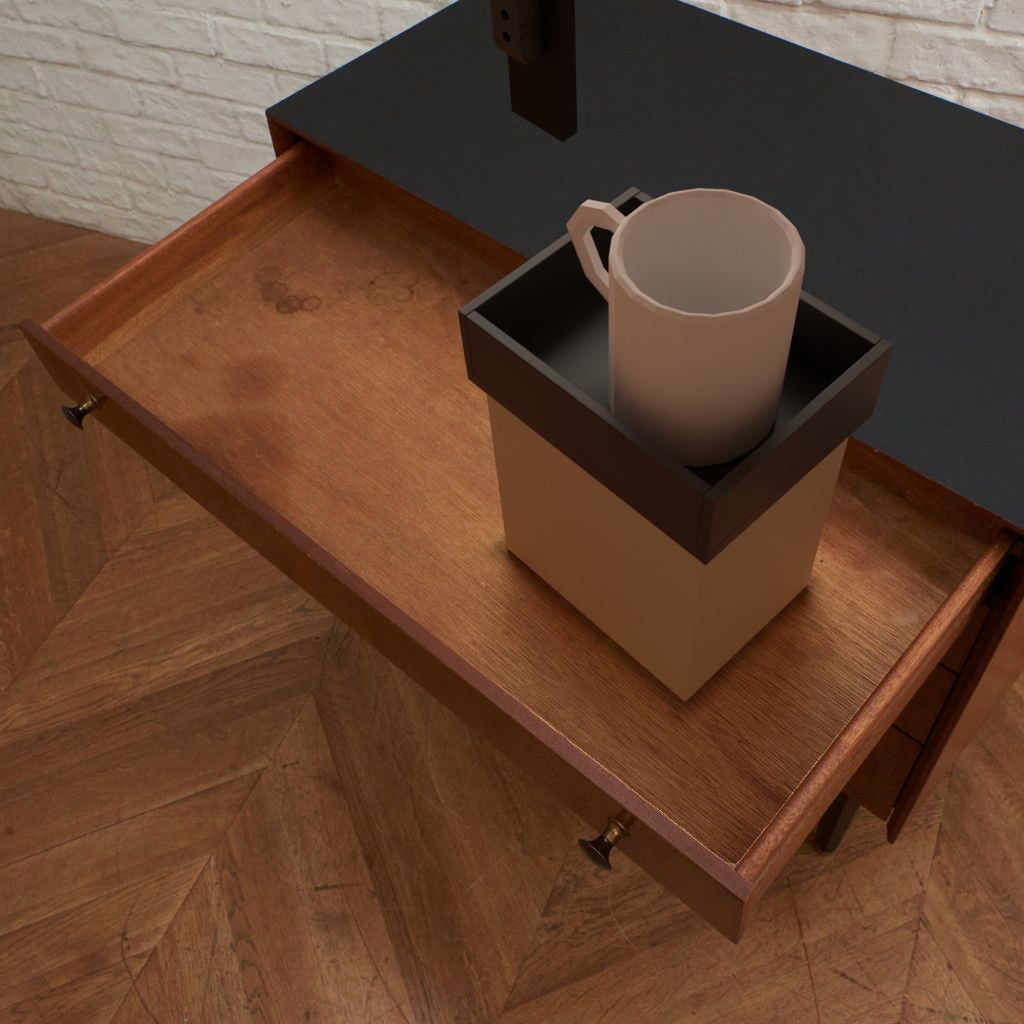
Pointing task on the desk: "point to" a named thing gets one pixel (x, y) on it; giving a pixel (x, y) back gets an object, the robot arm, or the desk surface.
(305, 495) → the desk surface
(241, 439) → the desk surface
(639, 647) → the stand
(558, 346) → the basket
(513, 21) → the robot arm
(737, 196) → the mug
